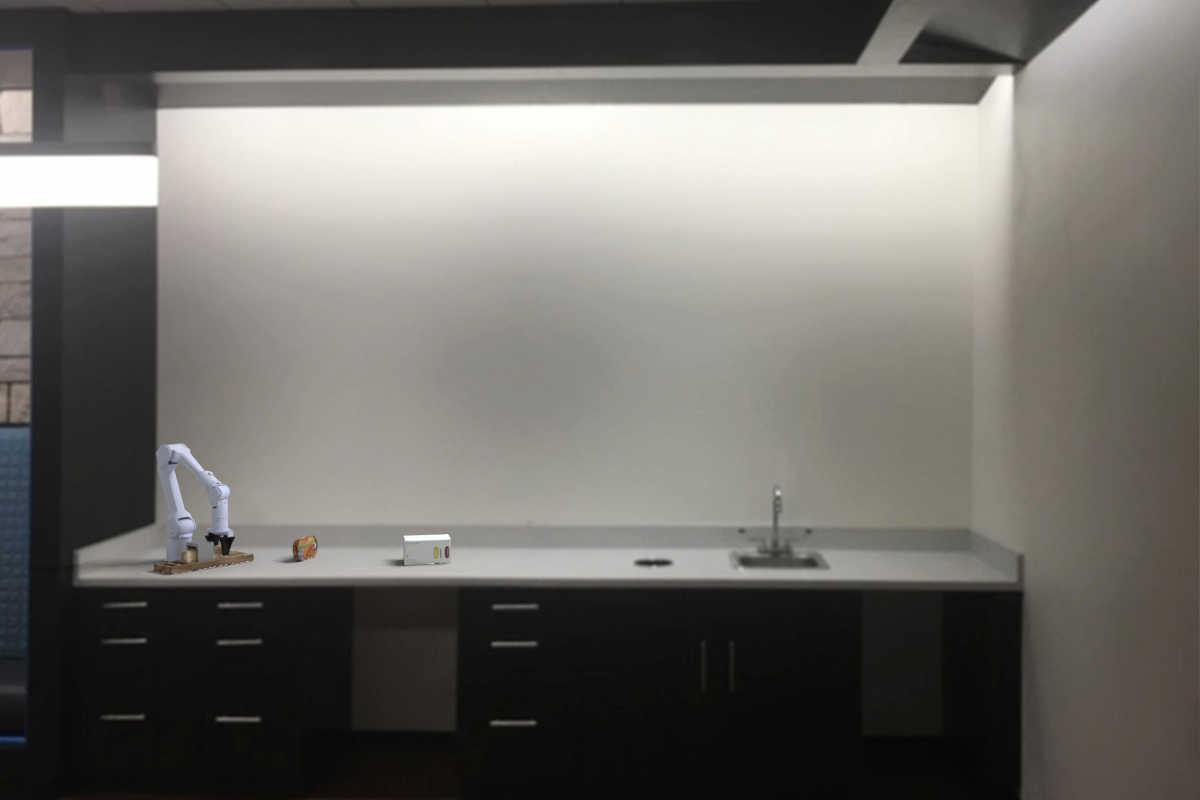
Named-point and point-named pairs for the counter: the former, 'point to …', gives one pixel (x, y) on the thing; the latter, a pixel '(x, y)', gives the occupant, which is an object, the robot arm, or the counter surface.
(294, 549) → the tin
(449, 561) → the supplement box
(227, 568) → the counter surface
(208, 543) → the metal u-shaped holder
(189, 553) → the ash block
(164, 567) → the walnut deck
